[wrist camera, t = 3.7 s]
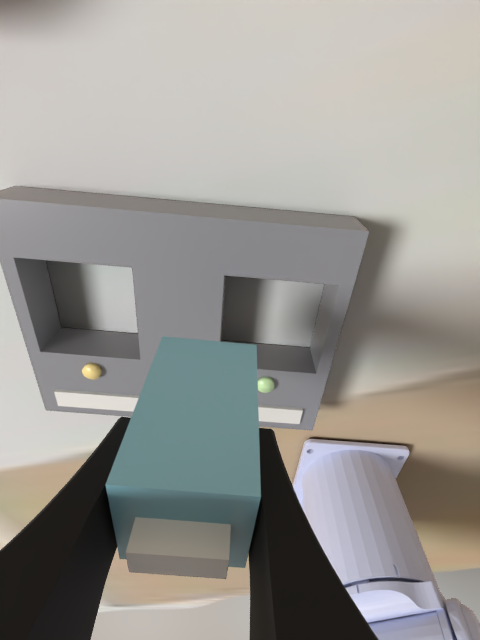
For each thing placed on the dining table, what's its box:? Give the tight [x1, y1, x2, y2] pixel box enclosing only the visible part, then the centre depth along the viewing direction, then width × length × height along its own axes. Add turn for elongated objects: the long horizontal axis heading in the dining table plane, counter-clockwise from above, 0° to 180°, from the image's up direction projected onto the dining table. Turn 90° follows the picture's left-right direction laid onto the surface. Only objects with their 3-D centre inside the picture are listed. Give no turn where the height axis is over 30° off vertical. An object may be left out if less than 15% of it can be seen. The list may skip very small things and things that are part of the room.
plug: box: [106, 336, 261, 579], centre depth 11 cm, size 4×4×7 cm
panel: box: [0, 186, 369, 430], centre depth 19 cm, size 13×17×3 cm
